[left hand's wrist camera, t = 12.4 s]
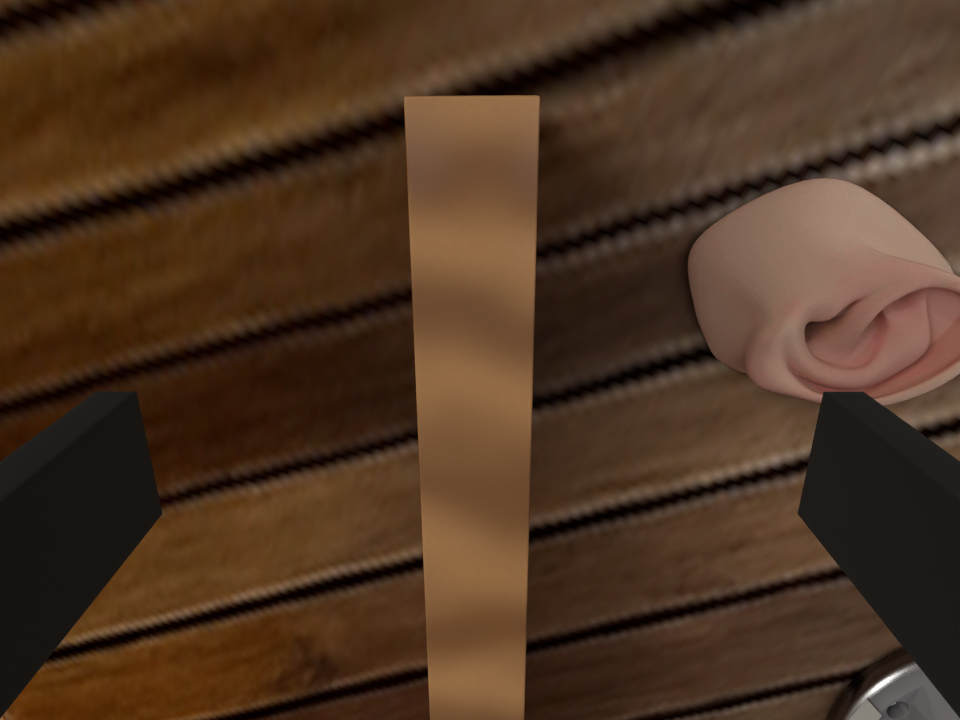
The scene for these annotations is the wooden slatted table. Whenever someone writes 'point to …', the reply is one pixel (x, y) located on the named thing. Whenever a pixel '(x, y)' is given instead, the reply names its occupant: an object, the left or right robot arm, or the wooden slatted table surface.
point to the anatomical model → (827, 295)
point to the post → (474, 388)
